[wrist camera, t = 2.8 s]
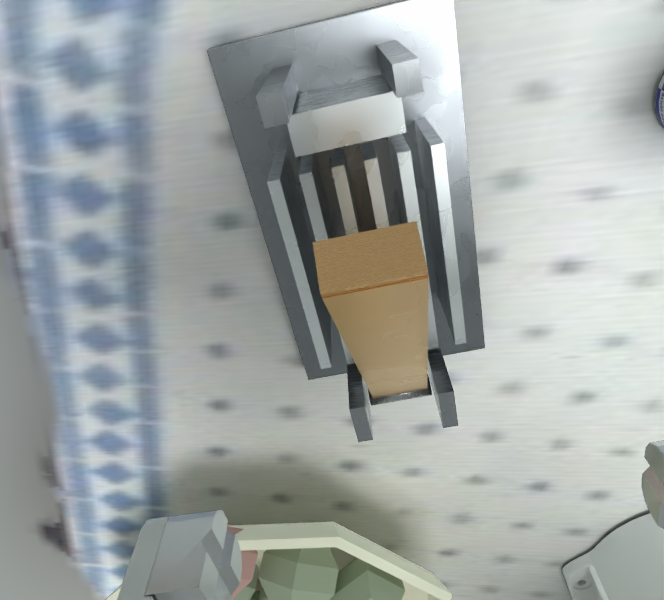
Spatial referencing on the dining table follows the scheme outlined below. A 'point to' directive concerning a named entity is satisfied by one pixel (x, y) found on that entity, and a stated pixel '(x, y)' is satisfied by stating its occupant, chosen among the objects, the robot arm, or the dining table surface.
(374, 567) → the dish with food
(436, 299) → the heatsink
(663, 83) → the energy drink
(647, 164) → the dining table surface
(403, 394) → the block
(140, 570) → the robot arm
